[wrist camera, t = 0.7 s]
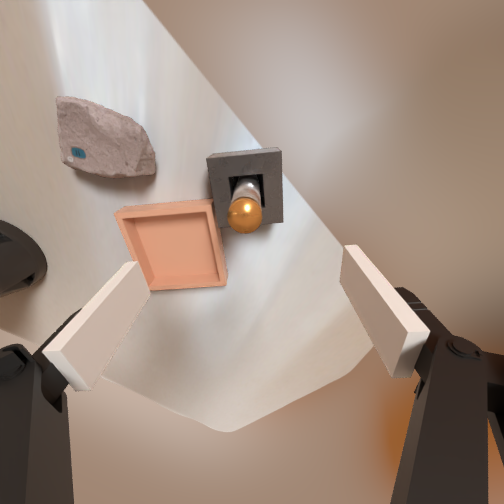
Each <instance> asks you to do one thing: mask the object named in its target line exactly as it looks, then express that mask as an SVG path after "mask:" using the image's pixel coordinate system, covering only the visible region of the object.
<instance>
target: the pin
mask: <svg viewBox="0 0 504 504" xmlns="http://www.w3.org/2000/svg"><path fill="white" fill-rule="evenodd" d="M227 218H228V222H229V225H230V226H231V227H232V228H233V229H234V230H235V231H237V232H239V233H251V232H253V231H255V230H256V229H257V228H258V227H259V226H260V224H261V221H262V210H261V198H260V186H259V179H258V177H257V176H256V175H255V174H253V175H243V176H239V178H238V181H237V184H236V188H235V191H234V194H233V198H232V201H231V204H230V207H229V211H228V215H227Z"/></svg>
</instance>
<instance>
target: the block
mask: <svg viewBox="0 0 504 504" xmlns="http://www.w3.org/2000/svg"><path fill="white" fill-rule="evenodd" d="M281 152H282V151H281V150H280V149H279V148H278V147H275V148H264V149H254V150H245V151H235V152H225V153H215V154H212V155H211V156H209V157H208V158H206V161H207V167H208V172H209V178H210V183H211V189H212V194H213V200H214V206H215V211H216V217H217V222H218V228H222V227H231V226H230V225H229V222H228V218H227V215H228V211H229V207H230V204H231V201H232V198H233V194H234V191H235V189H234V181H233V176H243V175H253V174H262V178H263V193H264V196H261V197H260V198H261V210H262V221H261V224H271V223H283V189H282V153H281Z"/></svg>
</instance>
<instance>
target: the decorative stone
mask: <svg viewBox="0 0 504 504" xmlns="http://www.w3.org/2000/svg"><path fill="white" fill-rule="evenodd" d="M56 105H57V116H58V135H59V144H60V148H61V160H62V162H63V163H64V164H66V165H67V166H69V167H71V168H73V169H80V170H83V171H85V172H88V173H92V174H96V175H99V176H102V177H109V178H123V177H135V176H139V175H152V174H154V173H155V152H154V151H153V148H152V145H151V144H150V141H149V138H148V136H147V134H146V132H145V130H144V129H143V127H142V126H140V125H139V124H137V123H135V122H134V121H133V119H132V118H130V117H127V116H123V115H121V114H119V113H117V112H115V111H113V110H111V109H107V108H104V106H102V105H98V104H96V103H94V102H91V101H88V100H83V99H77V98H75V97H67V96H66V97H61V96H58V97H57V98H56Z"/></svg>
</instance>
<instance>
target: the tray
mask: <svg viewBox="0 0 504 504" xmlns="http://www.w3.org/2000/svg"><path fill="white" fill-rule="evenodd" d="M114 216H115V218H116V221H117V223H118V225H119V228H120V230H121V233H122V235H123V237H124V240H125V242H126V245H127V247H128V250H129V252H130V254H131V257H132V259H133V261H138V263H139V265H140V268H141V270H142V273H143V275H144V278H145V280H146V282H147V285H148V287H149V290H150V291H152V290H167V289H181V288H196V287H211V286H225V285H226V284H227V278H228V271H227V265H226V259H225V254H224V248H223V242H222V237H221V231H220V228H218V222H217V217H216V211H215V206H214V200H213V199H202V200H191V201H180V202H168V203H157V204H146V205H135V206H125V207H123V208H121V209H120V210H118V211H117V212H115V213H114Z"/></svg>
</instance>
